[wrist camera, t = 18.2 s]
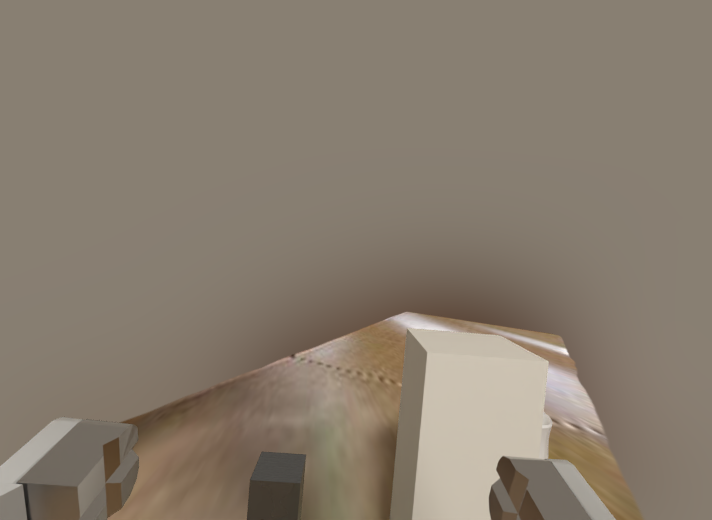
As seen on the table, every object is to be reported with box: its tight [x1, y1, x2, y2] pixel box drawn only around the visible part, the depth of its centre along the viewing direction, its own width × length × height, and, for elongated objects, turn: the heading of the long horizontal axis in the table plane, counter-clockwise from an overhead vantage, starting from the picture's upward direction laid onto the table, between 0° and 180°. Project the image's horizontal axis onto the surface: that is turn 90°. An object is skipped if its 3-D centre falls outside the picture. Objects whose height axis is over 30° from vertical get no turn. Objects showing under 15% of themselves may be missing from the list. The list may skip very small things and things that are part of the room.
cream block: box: [390, 328, 548, 520], centre depth 34 cm, size 10×9×26 cm
